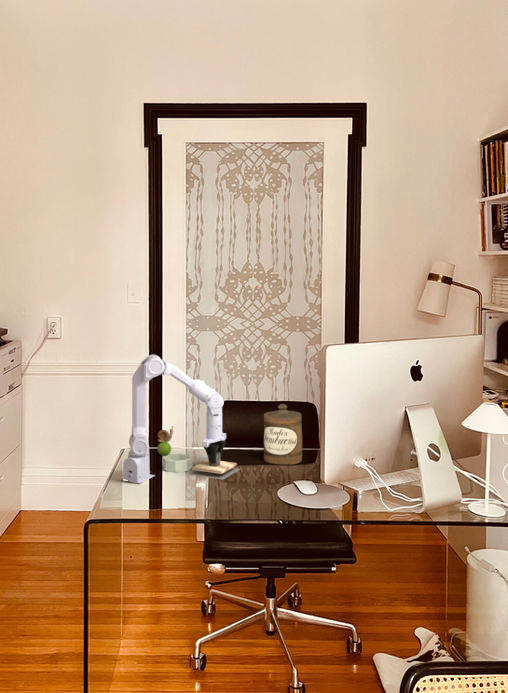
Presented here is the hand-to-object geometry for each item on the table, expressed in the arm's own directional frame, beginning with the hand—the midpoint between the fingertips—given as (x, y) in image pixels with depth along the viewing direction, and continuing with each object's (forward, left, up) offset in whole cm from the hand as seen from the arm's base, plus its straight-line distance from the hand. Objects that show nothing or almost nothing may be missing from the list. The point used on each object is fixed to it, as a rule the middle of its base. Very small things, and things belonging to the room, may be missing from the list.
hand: (214, 462), depth 258 cm
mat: (0, 0, -4) cm, 4 cm away
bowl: (-2, +15, -4) cm, 15 cm away
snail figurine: (+13, +29, -4) cm, 32 cm away
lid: (0, 0, -2) cm, 2 cm away
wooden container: (+26, -16, -4) cm, 31 cm away
